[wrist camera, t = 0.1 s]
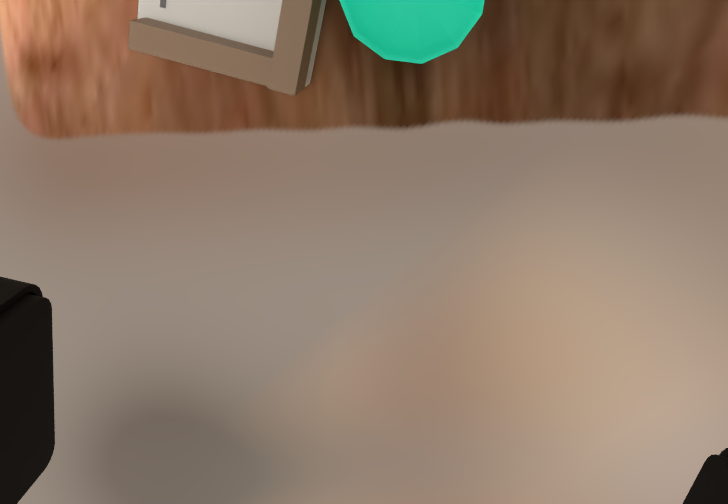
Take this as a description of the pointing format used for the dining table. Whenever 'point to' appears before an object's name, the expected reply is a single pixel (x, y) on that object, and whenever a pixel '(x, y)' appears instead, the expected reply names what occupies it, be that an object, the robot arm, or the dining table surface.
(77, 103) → the dining table surface
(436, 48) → the candle
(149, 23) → the jig board
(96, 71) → the dining table surface
